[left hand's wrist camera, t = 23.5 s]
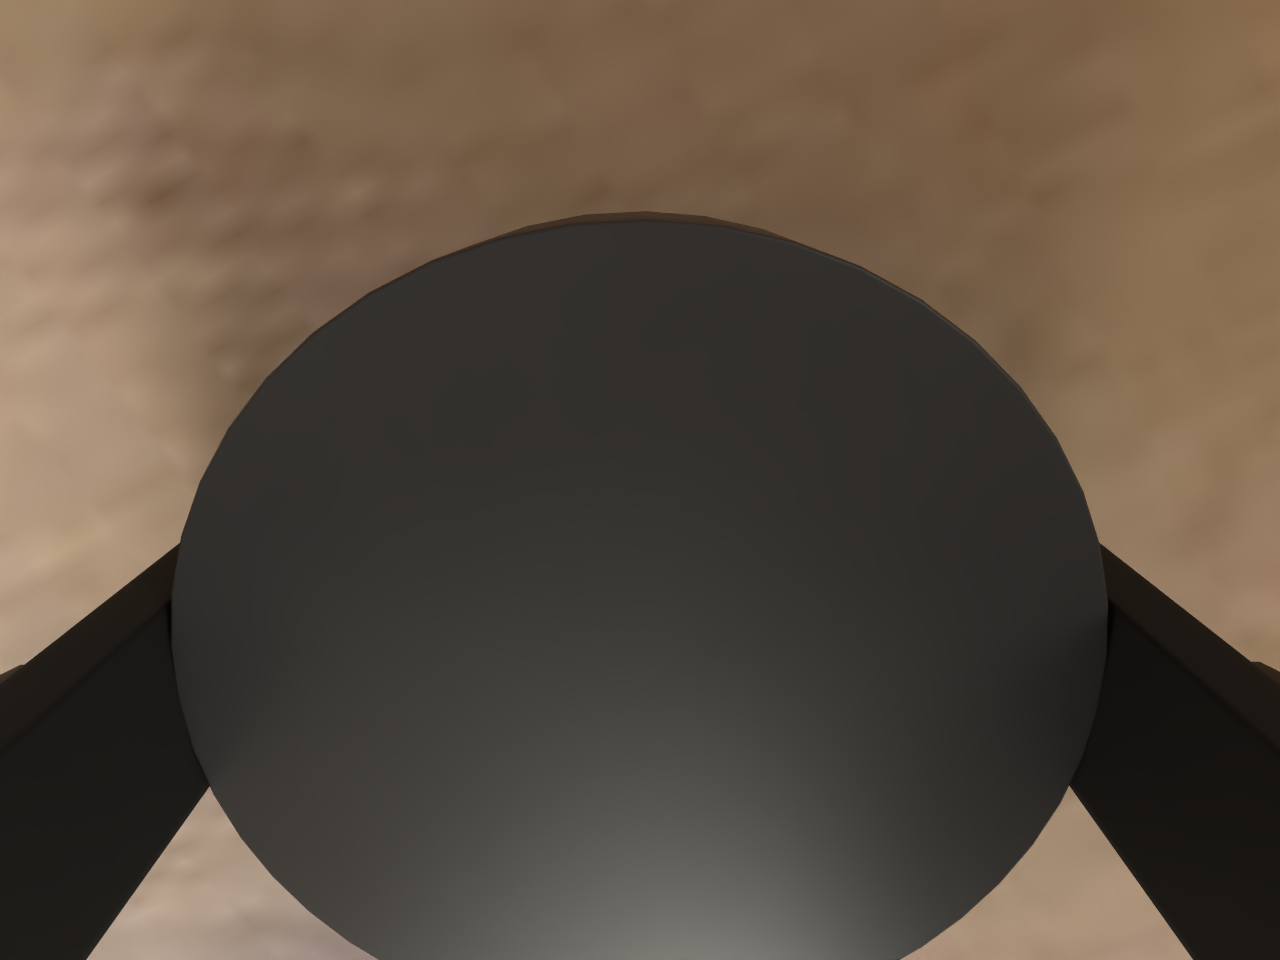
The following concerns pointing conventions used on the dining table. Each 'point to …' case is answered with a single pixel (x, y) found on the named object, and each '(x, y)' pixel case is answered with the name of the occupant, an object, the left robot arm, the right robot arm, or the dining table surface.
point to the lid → (639, 607)
